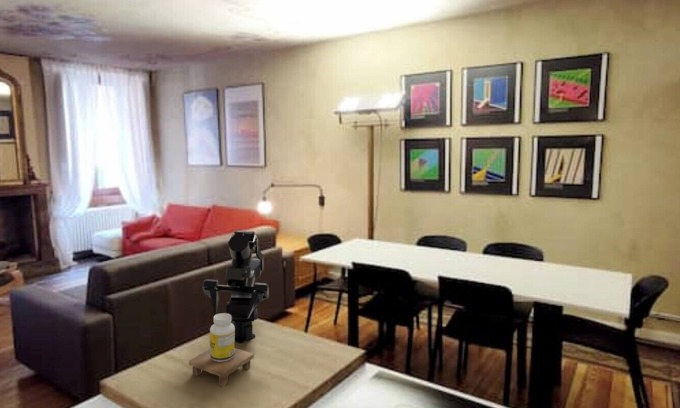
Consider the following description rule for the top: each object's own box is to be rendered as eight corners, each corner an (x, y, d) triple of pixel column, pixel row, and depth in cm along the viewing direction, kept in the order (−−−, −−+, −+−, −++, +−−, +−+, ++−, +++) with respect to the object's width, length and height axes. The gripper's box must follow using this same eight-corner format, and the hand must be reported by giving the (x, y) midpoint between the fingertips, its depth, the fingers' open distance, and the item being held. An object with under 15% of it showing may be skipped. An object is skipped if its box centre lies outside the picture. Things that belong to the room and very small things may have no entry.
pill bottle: (213, 350, 125) (213, 311, 123) (237, 351, 125) (237, 312, 123) (206, 362, 118) (206, 320, 117) (231, 363, 118) (231, 321, 117)
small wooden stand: (189, 374, 120) (189, 360, 119) (220, 356, 130) (220, 343, 129) (223, 388, 114) (223, 373, 114) (253, 367, 125) (253, 354, 124)
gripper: (204, 252, 129) (192, 304, 120) (269, 257, 130) (262, 308, 121) (210, 269, 138) (199, 318, 129) (271, 274, 139) (264, 323, 130)
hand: (231, 317), depth 127 cm, fingers open, 9 cm apart
